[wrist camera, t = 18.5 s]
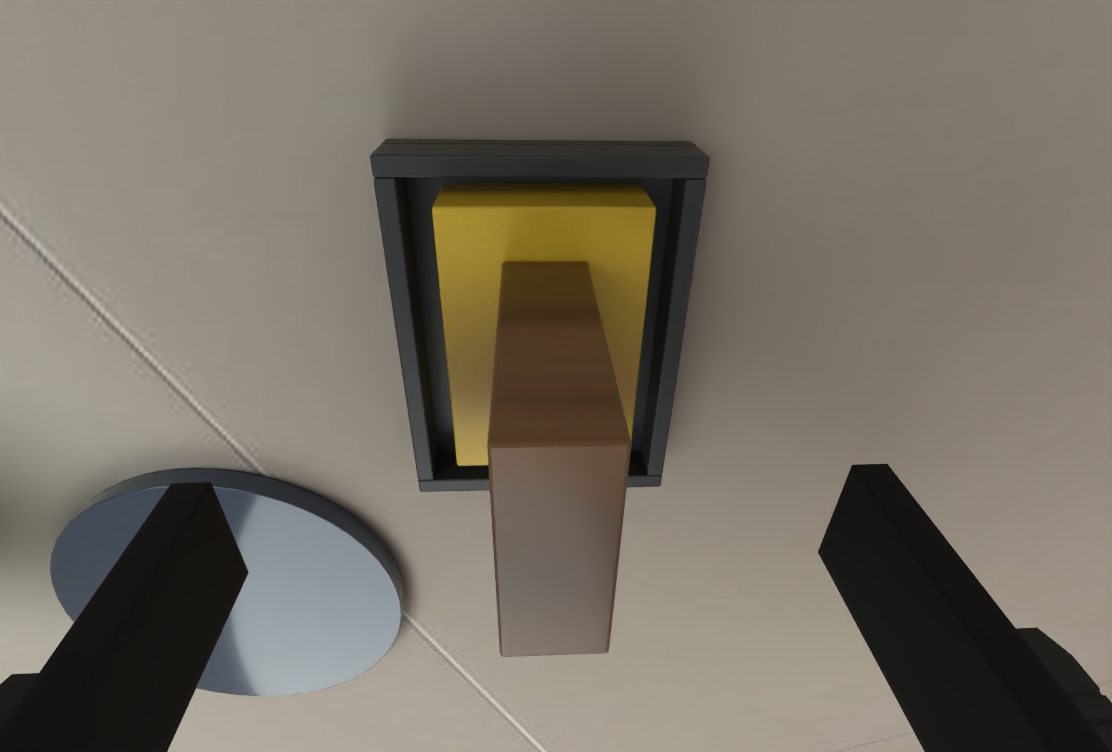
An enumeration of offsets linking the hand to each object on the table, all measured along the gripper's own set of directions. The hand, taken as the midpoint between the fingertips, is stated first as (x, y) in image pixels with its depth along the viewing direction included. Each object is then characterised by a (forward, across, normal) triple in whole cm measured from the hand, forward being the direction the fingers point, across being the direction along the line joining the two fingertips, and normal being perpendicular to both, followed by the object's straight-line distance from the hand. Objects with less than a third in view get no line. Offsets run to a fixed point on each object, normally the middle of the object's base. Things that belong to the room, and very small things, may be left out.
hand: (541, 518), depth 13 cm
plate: (+10, -14, -14) cm, 22 cm away
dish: (+10, 0, 0) cm, 10 cm away
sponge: (+9, 0, 0) cm, 9 cm away
